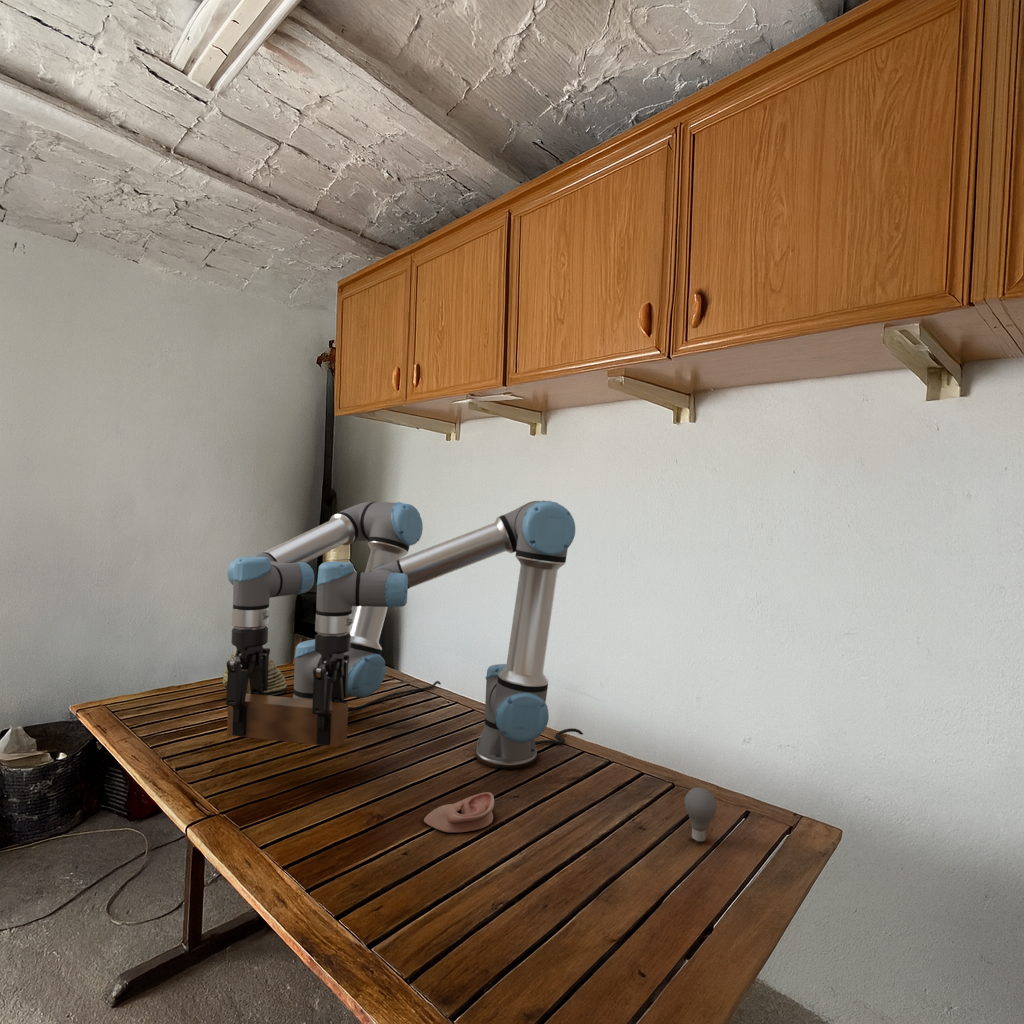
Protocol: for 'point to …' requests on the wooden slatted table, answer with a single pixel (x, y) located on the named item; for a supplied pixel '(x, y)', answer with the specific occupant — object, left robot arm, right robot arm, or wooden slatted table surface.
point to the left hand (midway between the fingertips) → (246, 729)
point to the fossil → (274, 678)
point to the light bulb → (700, 811)
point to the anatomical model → (463, 814)
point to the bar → (289, 720)
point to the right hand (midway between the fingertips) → (329, 738)
